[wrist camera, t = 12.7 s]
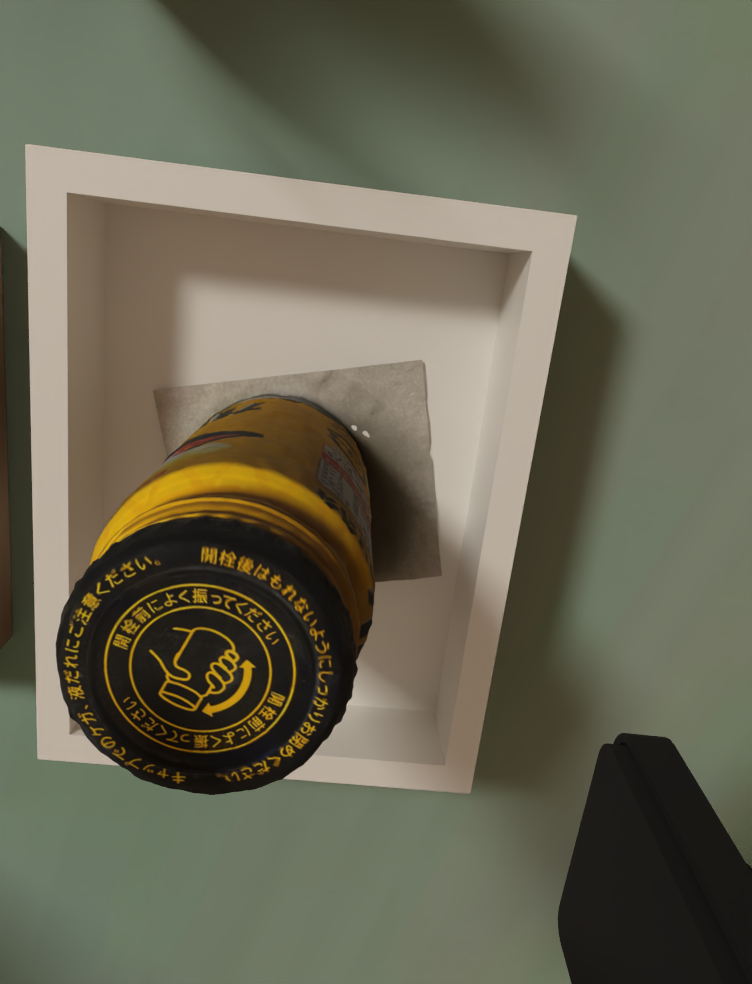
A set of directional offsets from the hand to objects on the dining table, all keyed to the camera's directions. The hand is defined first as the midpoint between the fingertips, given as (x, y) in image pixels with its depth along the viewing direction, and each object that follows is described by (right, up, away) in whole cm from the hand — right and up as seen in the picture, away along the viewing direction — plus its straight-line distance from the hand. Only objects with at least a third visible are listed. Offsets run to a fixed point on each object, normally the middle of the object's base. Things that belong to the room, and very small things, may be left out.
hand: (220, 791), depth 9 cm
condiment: (0, +4, +15) cm, 16 cm away
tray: (-1, +4, +16) cm, 16 cm away
